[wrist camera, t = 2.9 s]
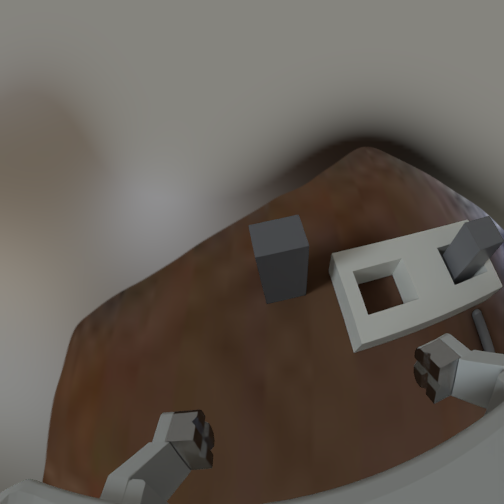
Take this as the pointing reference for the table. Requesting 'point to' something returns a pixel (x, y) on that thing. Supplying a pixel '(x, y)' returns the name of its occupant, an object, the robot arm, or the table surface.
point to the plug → (281, 257)
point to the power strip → (419, 280)
